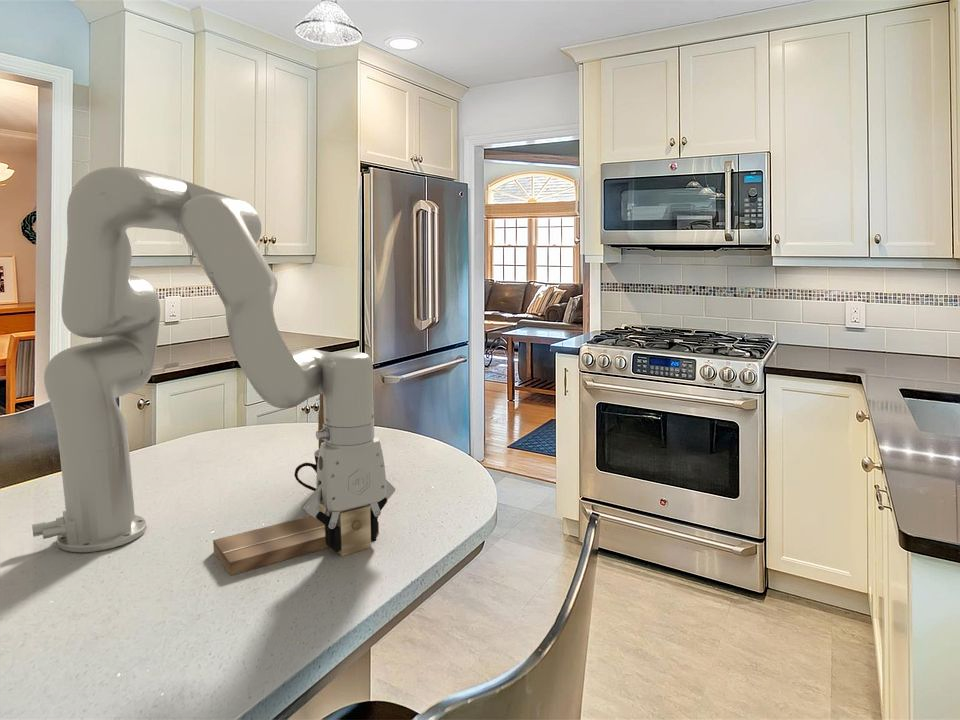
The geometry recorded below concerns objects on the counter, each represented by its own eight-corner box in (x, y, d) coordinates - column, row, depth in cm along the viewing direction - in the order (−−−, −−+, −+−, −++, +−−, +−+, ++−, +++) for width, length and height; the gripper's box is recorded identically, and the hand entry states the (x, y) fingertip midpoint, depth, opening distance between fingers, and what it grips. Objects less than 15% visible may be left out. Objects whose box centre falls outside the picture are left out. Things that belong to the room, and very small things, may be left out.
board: (230, 575, 92) (230, 561, 92) (213, 552, 99) (213, 539, 99) (378, 533, 106) (378, 521, 106) (354, 515, 114) (354, 504, 113)
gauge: (343, 557, 98) (341, 514, 97) (308, 527, 109) (307, 488, 107) (372, 548, 101) (371, 506, 100) (336, 520, 111) (335, 482, 110)
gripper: (305, 448, 90) (309, 568, 93) (410, 429, 100) (411, 538, 103) (285, 436, 96) (290, 549, 99) (387, 419, 106) (388, 522, 109)
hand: (352, 542), depth 101 cm, fingers open, 5 cm apart
